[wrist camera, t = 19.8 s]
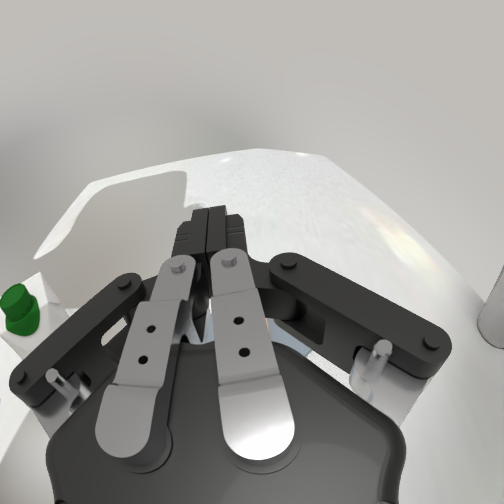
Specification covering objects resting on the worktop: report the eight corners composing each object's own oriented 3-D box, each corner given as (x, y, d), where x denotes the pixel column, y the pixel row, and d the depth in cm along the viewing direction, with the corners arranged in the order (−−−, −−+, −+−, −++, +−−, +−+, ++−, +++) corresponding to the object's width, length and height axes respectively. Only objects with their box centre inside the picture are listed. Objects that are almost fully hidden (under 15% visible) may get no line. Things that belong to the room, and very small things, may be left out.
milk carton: (75, 419, 30) (-16, 326, 18) (58, 378, 35) (-14, 285, 24) (120, 390, 34) (44, 286, 23) (97, 352, 40) (36, 252, 28)
